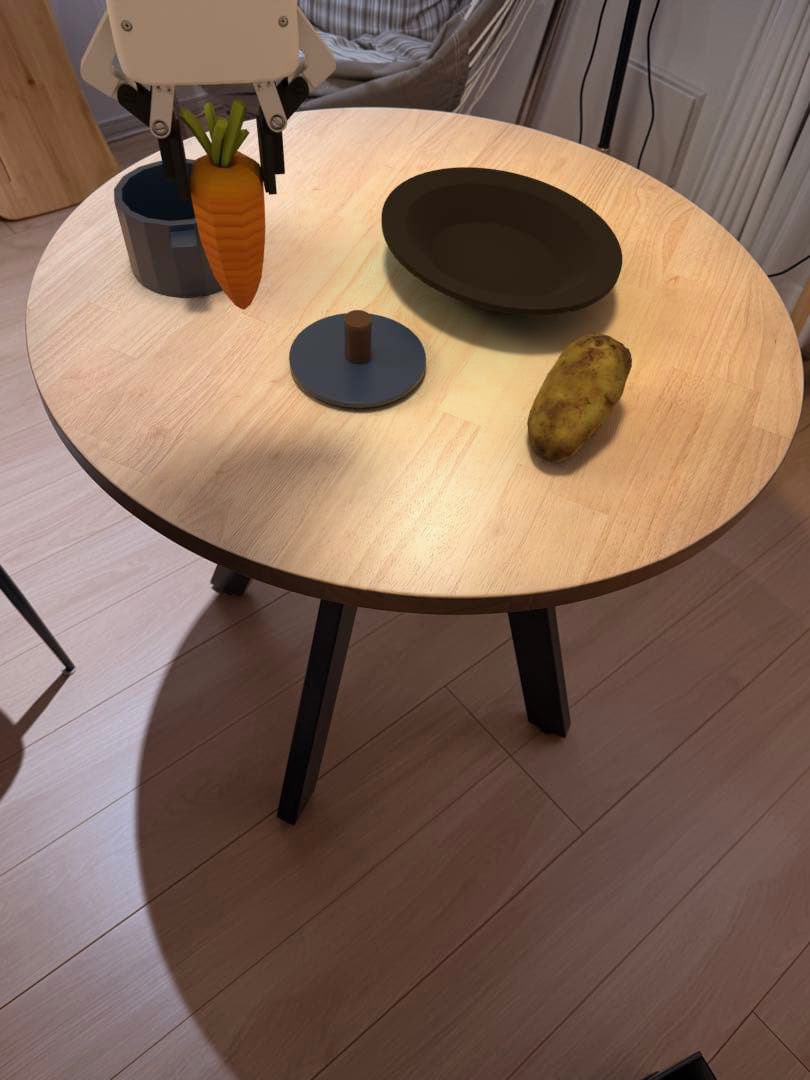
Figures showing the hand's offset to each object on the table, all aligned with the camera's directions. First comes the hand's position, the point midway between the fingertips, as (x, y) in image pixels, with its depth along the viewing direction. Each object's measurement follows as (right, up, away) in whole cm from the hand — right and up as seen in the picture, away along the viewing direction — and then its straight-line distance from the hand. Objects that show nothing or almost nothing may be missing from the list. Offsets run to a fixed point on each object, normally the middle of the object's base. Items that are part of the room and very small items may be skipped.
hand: (226, 183), depth 52 cm
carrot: (-1, -6, +8) cm, 10 cm away
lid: (+7, -5, +27) cm, 29 cm away
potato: (+27, -13, +24) cm, 38 cm away
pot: (-12, +8, +36) cm, 39 cm away
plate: (+22, +6, +38) cm, 44 cm away
